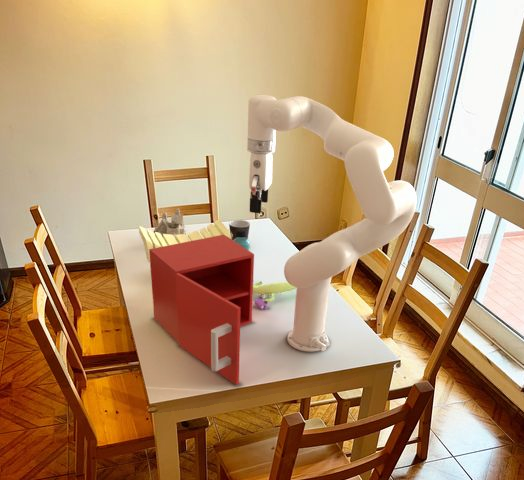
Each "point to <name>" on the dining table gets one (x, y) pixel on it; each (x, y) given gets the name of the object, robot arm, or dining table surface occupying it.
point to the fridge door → (209, 327)
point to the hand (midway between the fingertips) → (258, 207)
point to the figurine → (269, 292)
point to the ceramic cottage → (171, 225)
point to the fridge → (201, 276)
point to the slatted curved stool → (180, 236)
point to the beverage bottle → (242, 238)
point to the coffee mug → (236, 225)
